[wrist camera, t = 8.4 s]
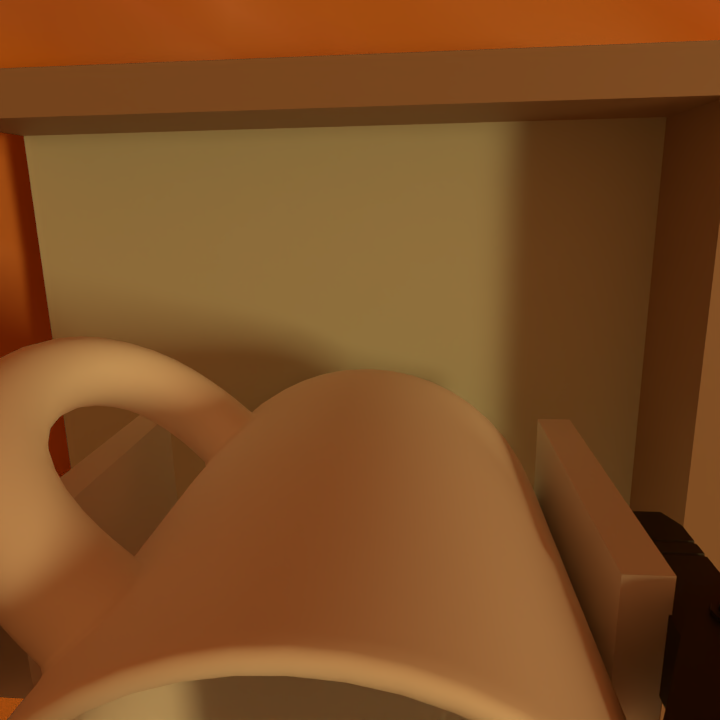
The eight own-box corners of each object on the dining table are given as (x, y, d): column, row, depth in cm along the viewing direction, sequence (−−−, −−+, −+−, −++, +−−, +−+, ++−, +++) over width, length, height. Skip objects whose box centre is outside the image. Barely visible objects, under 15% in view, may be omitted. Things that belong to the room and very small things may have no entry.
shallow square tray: (115, 666, 23) (44, 777, 18) (39, 102, 18) (-80, 71, 14) (631, 690, 21) (687, 817, 17) (695, 80, 16) (795, 37, 12)
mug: (46, 410, 17) (-509, 732, 7) (255, 176, 15) (-87, 132, 5) (370, 698, 18) (315, 1321, 8) (599, 520, 16) (901, 1051, 6)
